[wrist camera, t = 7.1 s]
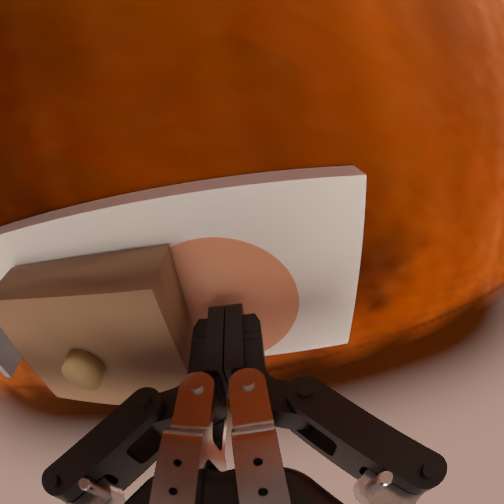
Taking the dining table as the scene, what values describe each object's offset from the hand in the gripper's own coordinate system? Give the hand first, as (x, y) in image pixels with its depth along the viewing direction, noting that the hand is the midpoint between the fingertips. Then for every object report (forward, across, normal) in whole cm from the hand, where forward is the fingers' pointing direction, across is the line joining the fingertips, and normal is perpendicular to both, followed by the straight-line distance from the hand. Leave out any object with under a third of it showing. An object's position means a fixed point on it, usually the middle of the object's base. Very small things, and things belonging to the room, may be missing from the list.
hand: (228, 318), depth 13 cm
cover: (+1, +7, 0) cm, 7 cm away
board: (+2, +6, -1) cm, 7 cm away
